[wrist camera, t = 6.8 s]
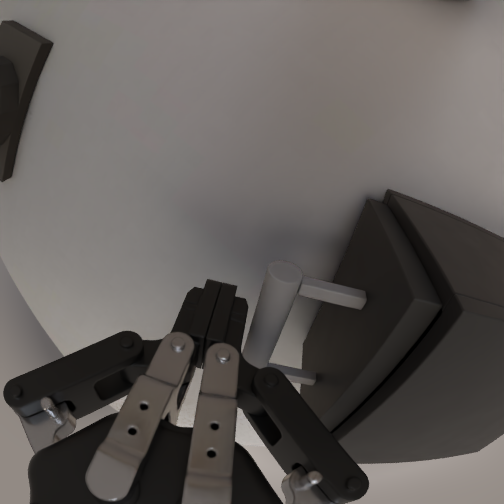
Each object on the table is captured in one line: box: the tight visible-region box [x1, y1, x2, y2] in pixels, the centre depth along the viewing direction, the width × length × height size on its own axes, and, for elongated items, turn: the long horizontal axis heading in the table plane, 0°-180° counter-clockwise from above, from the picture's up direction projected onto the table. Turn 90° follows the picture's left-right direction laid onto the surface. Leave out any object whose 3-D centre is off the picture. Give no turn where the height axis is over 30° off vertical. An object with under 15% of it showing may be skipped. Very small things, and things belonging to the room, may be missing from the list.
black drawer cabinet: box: [330, 189, 504, 464], centre depth 14 cm, size 15×13×10 cm
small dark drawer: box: [242, 198, 443, 432], centre depth 14 cm, size 18×11×8 cm, turn 79°
